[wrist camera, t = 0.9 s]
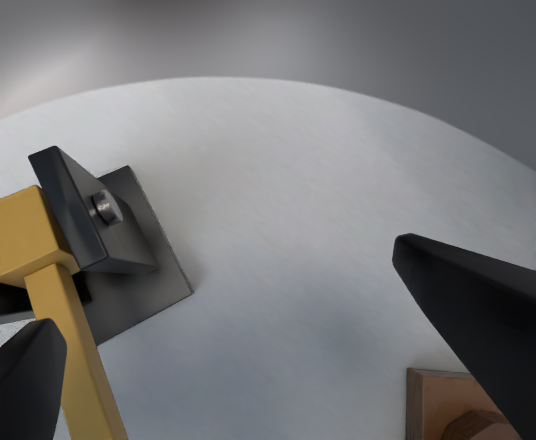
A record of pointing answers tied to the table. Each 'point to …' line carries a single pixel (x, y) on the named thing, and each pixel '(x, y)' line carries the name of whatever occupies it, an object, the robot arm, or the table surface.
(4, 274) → the tap lever
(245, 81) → the table surface
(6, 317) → the bracket
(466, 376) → the button block
